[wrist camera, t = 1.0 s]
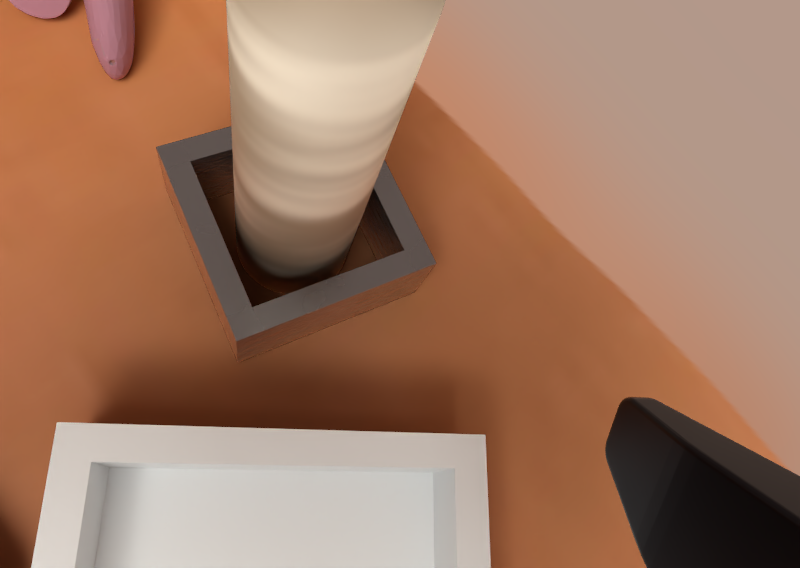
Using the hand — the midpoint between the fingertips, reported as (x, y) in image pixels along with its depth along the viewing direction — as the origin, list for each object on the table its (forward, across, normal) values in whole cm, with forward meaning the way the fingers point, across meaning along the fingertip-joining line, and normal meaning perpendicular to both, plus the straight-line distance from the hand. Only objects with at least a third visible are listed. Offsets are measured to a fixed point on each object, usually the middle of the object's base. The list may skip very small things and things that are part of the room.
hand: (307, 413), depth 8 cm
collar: (+15, 0, +4) cm, 16 cm away
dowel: (+15, 0, +4) cm, 16 cm away
